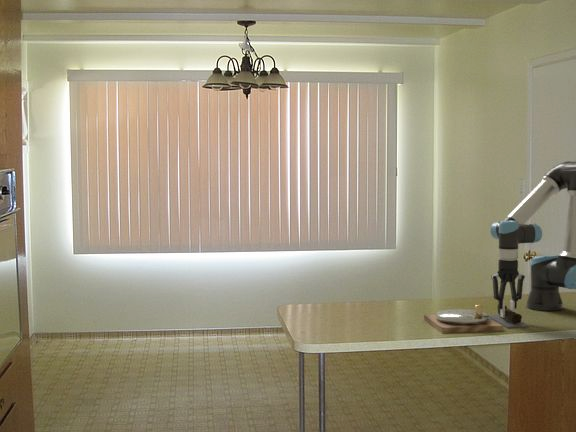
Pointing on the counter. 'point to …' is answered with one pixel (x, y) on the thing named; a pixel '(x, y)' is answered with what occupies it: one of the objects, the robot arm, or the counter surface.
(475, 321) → the dial
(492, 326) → the board
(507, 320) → the mat
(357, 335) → the counter surface
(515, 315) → the hand tool
